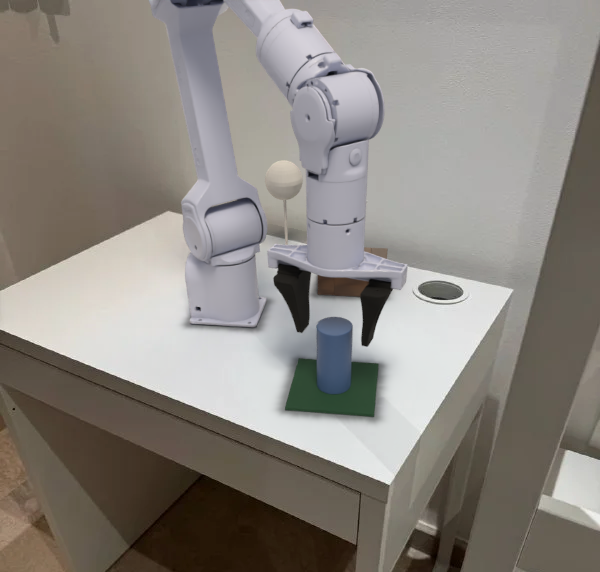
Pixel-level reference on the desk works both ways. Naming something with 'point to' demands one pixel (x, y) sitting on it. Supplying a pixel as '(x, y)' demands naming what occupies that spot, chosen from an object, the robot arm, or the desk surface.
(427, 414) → the desk surface
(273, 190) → the lollipop
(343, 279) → the holder
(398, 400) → the desk surface
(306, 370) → the mat
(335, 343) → the peg
